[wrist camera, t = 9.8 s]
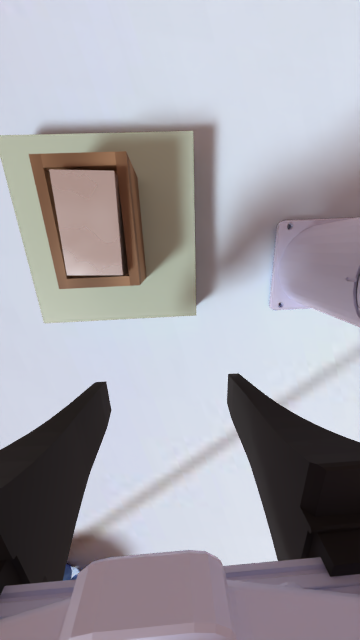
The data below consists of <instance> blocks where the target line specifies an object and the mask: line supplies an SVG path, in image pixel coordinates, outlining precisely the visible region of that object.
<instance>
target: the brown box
mask: <svg viewBox="0 0 360 640" xmlns="http://www.w3.org/2000/svg"><path fill="white" fill-rule="evenodd" d="M29 159H30V163H31V167H32V172H33V176H34V181H35V185H36V189H37V194H38V198H39V203H40V207H41V211H42V216H43V220H44V225H45V229H46V233H47V238H48V242H49V247H50V251H51V256H52V260H53V264H54V269H55V273H56V278H57V282H58V286H59V289H74V288H95V287H115V286H136V285H141V283H142V282H143V281H144V280H145V279H146V278H147V276H146V265H145V254H144V243H143V232H142V221H141V210H140V199H139V188H138V177H137V175H136V173H135V170H134V168H133V166H132V164H131V161H130V159H129V157H128V154H127V152H126V151H118V152H82V153H46V154H29ZM49 169H54V170H105V171H115V173H116V174H117V176H118V185H119V194H120V202H121V211H122V219H123V228H124V236H125V245H126V256H127V269H128V273H126V274H124V275H67V273H66V267H65V261H64V255H63V249H62V243H61V237H60V232H59V226H58V220H57V214H56V208H55V202H54V196H53V190H52V184H51V178H50V172H49Z"/></svg>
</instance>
